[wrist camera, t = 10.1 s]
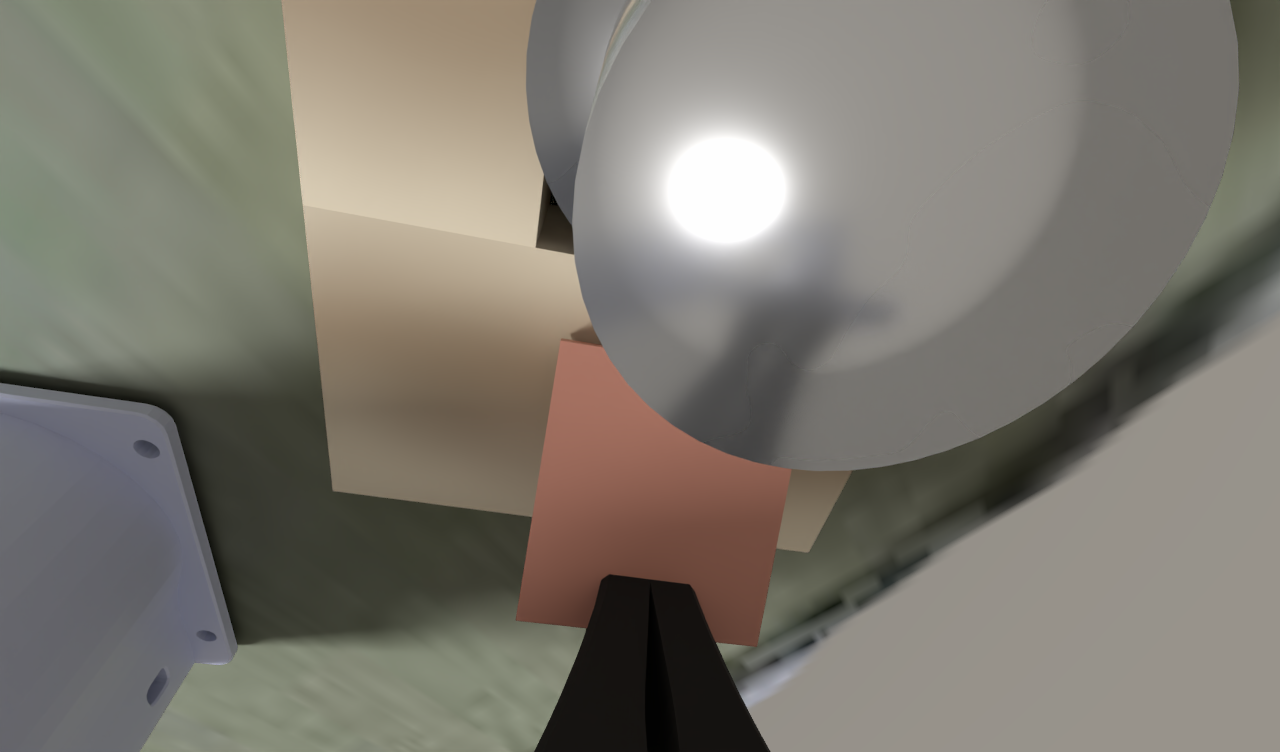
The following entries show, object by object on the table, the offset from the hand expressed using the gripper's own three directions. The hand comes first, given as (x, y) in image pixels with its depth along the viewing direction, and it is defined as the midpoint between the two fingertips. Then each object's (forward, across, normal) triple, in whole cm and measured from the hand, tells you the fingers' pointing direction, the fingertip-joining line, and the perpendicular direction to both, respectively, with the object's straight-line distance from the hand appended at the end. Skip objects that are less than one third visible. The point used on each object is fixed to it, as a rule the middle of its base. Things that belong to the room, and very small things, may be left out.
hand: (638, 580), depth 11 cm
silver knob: (+3, 0, -8) cm, 9 cm away
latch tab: (0, 0, -2) cm, 2 cm away
